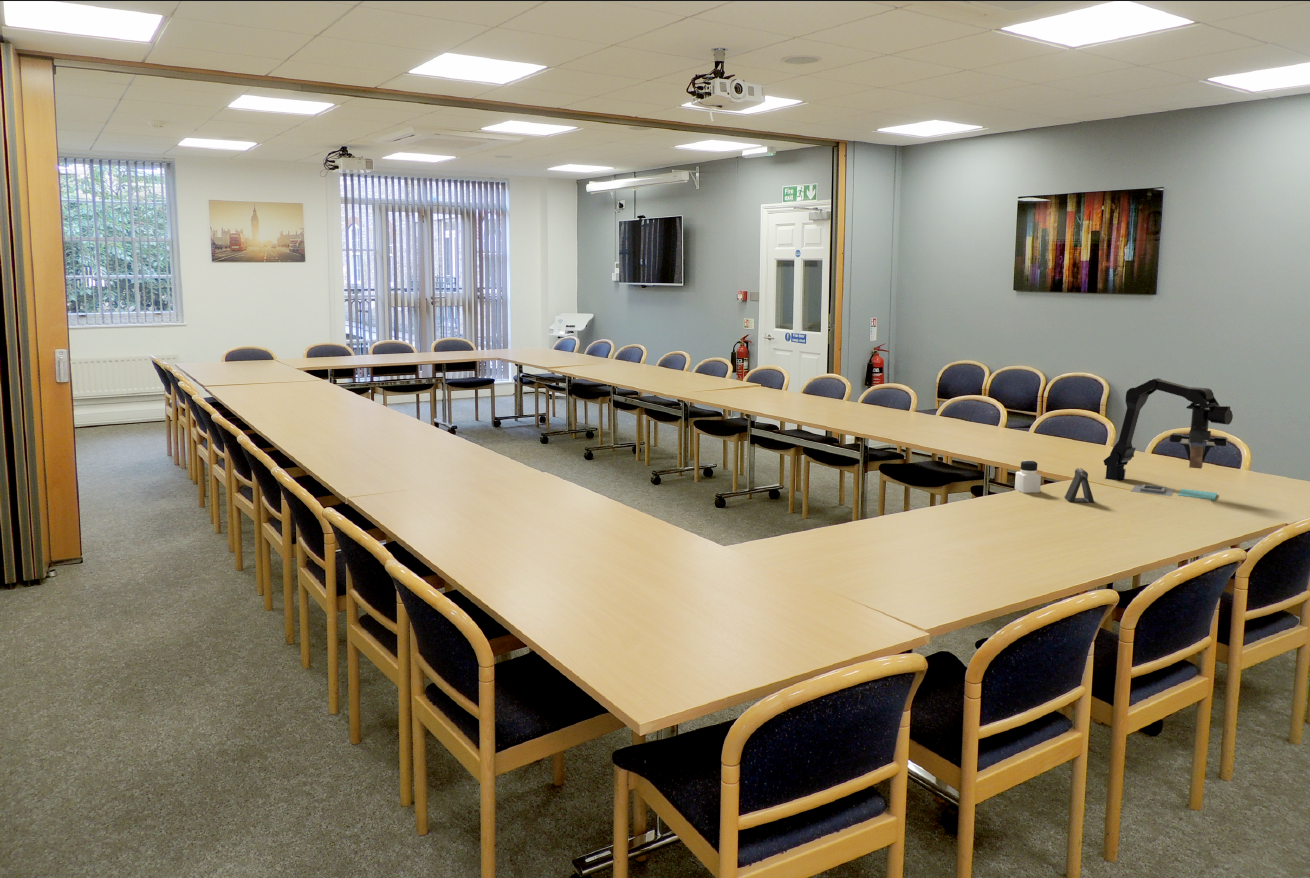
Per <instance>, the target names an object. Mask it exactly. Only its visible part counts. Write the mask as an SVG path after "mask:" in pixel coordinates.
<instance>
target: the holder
mask: <svg viewBox="0 0 1310 878" xmlns="http://www.w3.org/2000/svg"><path fill="white" fill-rule="evenodd" d="M1175 491H1176V488H1172V487H1171V488H1170V487H1169V488H1168V487H1166V486H1159V485H1152V484H1135V485H1134V486H1133V487H1132V489H1131V490H1130V492H1133V493H1139V494H1149V495H1157V496H1166V497H1172V496H1173V494H1174V493H1175Z"/></svg>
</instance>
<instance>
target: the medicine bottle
mask: <svg viewBox="0 0 1310 878" xmlns="http://www.w3.org/2000/svg"><path fill="white" fill-rule="evenodd" d="M1041 480H1042V475H1041V474H1040V473H1038V462H1036V461H1035V460H1029V459H1028V460H1023V461H1021V462H1020V470H1019V471H1015V480H1014V489H1015V490H1016V491H1018V492H1020V491H1021V492H1020V493H1022V494H1031V493H1032V494H1033V493H1035V494H1036V493H1041V484H1042V481H1041Z"/></svg>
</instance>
